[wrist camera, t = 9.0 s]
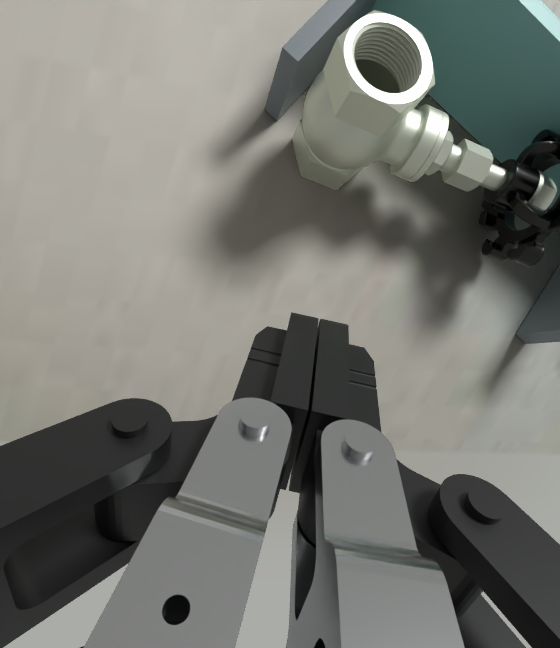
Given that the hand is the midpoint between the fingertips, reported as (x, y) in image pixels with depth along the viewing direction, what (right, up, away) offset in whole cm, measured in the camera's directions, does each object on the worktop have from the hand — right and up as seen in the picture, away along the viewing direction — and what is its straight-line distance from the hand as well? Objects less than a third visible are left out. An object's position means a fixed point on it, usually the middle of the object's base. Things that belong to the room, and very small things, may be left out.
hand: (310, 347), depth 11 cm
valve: (+5, +8, +10) cm, 14 cm away
